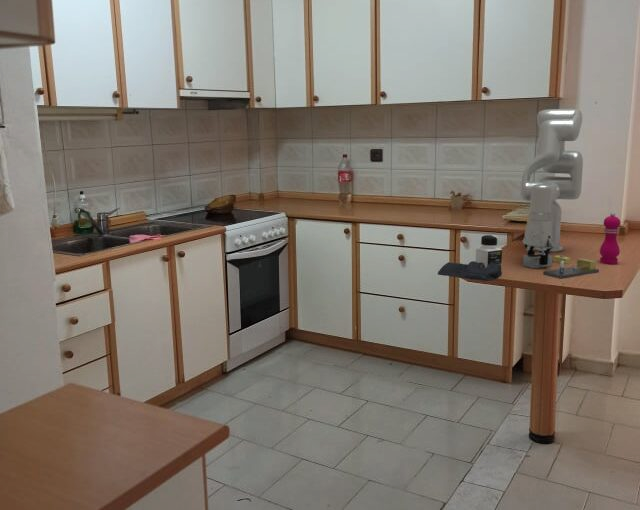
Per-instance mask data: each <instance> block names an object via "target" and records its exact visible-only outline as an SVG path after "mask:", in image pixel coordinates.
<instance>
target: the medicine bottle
mask: <svg viewBox="0 0 640 510" xmlns="http://www.w3.org/2000/svg"><path fill="white" fill-rule="evenodd" d="M498 239H499V238H498V236H496V235H493V234H492V235H491V234H486V235H483V236H481V242H480V247H476V248H475V260H474V261H475V262H477V263H480V262H482V263H484V265H485V268H486V267H487V265H488V264H497V265H498V264H500V265H501V266H502V261H503V260H502V259H503V257H502V256H503V249H502V248H501V247H498Z"/></svg>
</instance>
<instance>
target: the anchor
mask: <svg viewBox="0 0 640 510" xmlns="http://www.w3.org/2000/svg"><path fill="white" fill-rule="evenodd" d="M560 261H564V265H566V264H571V257H568V256H565V255H562V254H561V255H560V254H559V255H552V262H555V263H560Z"/></svg>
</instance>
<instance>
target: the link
mask: <svg viewBox="0 0 640 510" xmlns="http://www.w3.org/2000/svg"><path fill="white" fill-rule="evenodd" d="M541 255H543V254H542V252H538V253H535V254H530V255H527V254H524V255H523V256H522V257H523V258H522V267H527V268H531V269H539V268H546V267H547V268H548V267H552V262H553V255H550V254H549V255H548V264H547V265H541Z"/></svg>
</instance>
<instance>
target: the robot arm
mask: <svg viewBox="0 0 640 510" xmlns="http://www.w3.org/2000/svg"><path fill="white" fill-rule="evenodd" d="M536 122H537V125H538V129H539V133H538V134H539V135H538V141H537V149H536V156H535V158H534V159H532V160H531V161H530V162H529V163H528V164H527V166H525V169H524V171H523V173H522V177H521V184H520V197H521V198H522V200H524V201H526V202H530V205H529V212H528V216H529V219H527V221H526V225H525V230H524V231H525V232H524V237H523V238H522V241H521V243H522V244H523V245H524V247H525V249H526V252H527V254H526V255H530V254H536V253H535V251H539V252H541V253H542V254H543V255H541V265H547V264H548V255H550V254H551V253H555V252H556V253H557V252H561V251H563V250H564V247H563V246H561V245H560V240H561V239H560V238H561V225H562V212H563V211H562V207H561V205H560V204H559V203H558V202H557V200H569V201H570V200H572V201H573V200H577V199H579V197H580V196H581V193H582V184H583V182H582V181H583V167H584V166H583V165H584V160H583V159H584V158H583V155H582V153H581V152H580V151H577V150H566V149H565V146H566V143H565V142H574V141H576V140H578V138H579V136H580V135H579V134H580V132H581V127H582V124H583V114H582V111H581V110H579V109H576V108H562V109H561V108H557V109H556V108H549V109H542V110H539V112H538V113H537V115H536ZM541 168H542V170H543V171H544V172H545V173H547V174H563V175H564V174H566V175H567V174H568V175H570V176H544V177H541V178H539V180H538V181H530V180H531V177H532V175H533V174H534V173H535V172H536V171H538V170H540V169H541Z"/></svg>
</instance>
